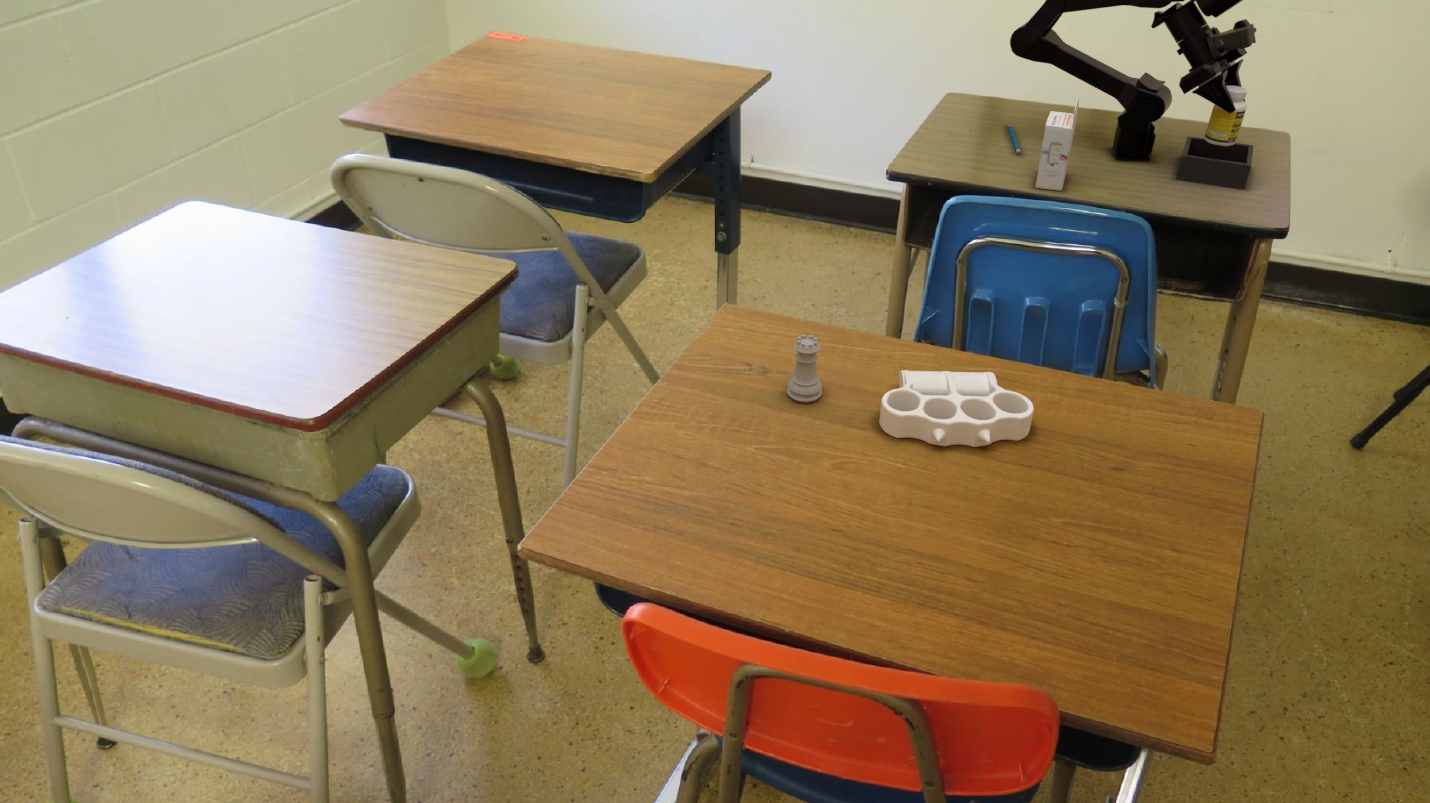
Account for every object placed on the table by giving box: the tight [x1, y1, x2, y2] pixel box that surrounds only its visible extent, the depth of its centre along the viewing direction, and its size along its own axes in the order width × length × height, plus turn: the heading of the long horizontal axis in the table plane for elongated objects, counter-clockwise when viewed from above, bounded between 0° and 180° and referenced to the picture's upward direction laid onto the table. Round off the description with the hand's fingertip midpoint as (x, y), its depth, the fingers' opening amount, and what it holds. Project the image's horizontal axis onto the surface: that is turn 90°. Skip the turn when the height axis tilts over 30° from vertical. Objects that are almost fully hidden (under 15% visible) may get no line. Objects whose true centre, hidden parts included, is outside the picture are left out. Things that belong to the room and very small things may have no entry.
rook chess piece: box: [786, 334, 823, 404], centre depth 131 cm, size 4×4×8 cm
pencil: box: [1007, 124, 1022, 156], centre depth 211 cm, size 1×17×1 cm, turn 174°
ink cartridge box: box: [1035, 97, 1080, 192], centre depth 189 cm, size 9×5×15 cm, turn 160°
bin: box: [1176, 135, 1254, 190], centre depth 195 cm, size 12×12×4 cm
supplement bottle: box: [1204, 86, 1248, 146], centre depth 190 cm, size 5×5×10 cm
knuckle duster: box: [878, 369, 1035, 448], centre depth 128 cm, size 3×18×15 cm
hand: (1237, 108), depth 189 cm, fingers closed on supplement bottle, 5 cm apart
